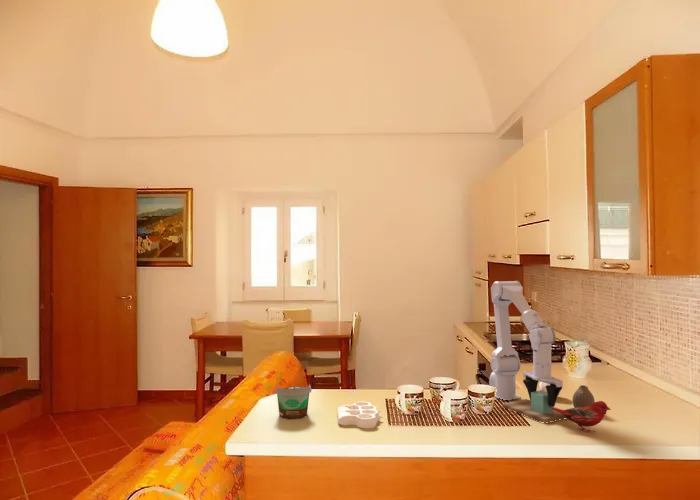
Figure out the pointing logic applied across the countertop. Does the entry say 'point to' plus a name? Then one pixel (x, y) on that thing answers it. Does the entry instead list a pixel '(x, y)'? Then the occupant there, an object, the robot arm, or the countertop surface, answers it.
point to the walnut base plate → (525, 409)
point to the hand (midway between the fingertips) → (542, 403)
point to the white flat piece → (358, 415)
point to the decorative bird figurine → (585, 414)
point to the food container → (293, 401)
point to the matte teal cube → (540, 402)
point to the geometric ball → (544, 386)
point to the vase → (582, 397)
